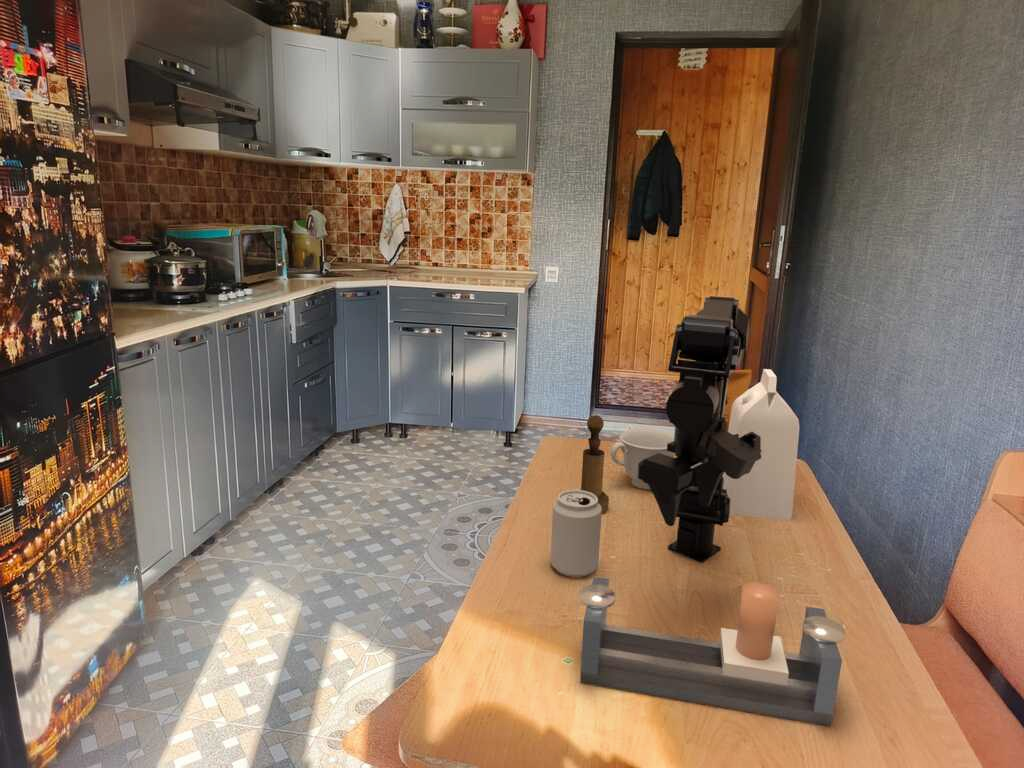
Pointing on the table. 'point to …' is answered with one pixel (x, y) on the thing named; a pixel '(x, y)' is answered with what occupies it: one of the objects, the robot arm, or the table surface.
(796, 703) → the rail
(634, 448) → the teacup
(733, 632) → the carriage
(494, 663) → the table surface
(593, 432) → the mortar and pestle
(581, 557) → the can
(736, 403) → the milk
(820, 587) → the table surface
